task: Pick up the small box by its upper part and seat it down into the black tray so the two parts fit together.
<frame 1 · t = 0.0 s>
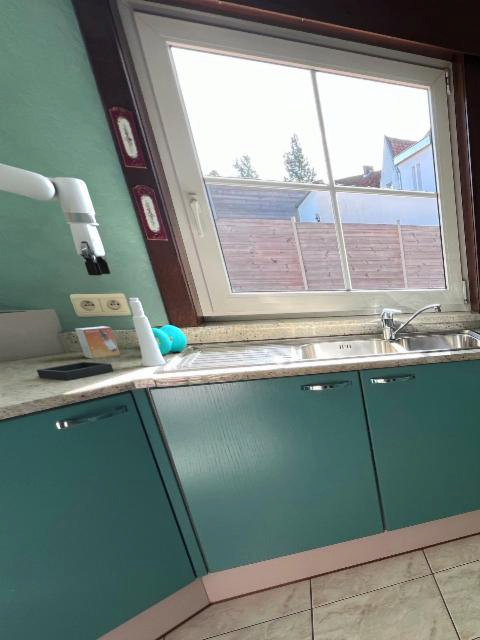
hand: (100, 274, 168), 28 cm above the worktop, tool pointing down, fingers open, 9 cm apart
black tray: (77, 374, 153), on the worktop
small box: (103, 357, 177), on the worktop
cosmetic bottle: (154, 365, 169), on the worktop
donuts: (168, 353, 186), on the worktop
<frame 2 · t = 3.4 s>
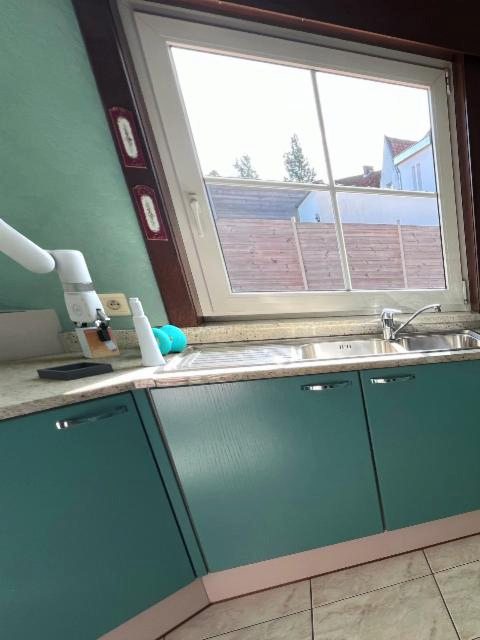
hand: (97, 340, 175), 6 cm above the worktop, tool pointing down, fingers closed on small box, 6 cm apart
small box: (103, 357, 177), on the worktop, touching gripper
everything else where it was.
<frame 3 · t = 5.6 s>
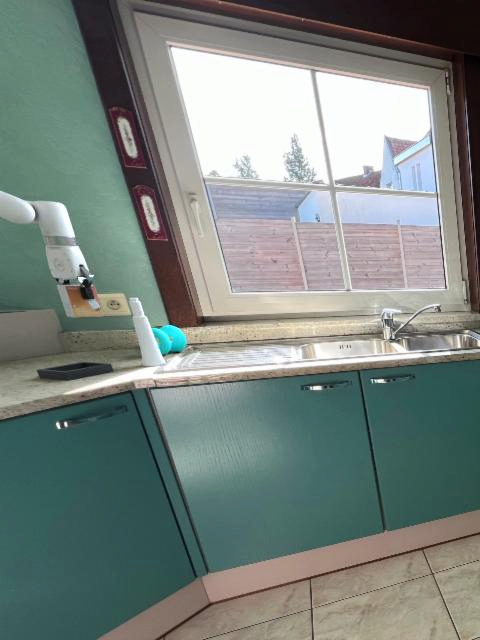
hand: (80, 298, 169), 21 cm above the worktop, tool pointing down, fingers closed on small box, 6 cm apart
small box: (86, 317, 171), point 14 cm above the worktop, touching gripper
everything else where it was.
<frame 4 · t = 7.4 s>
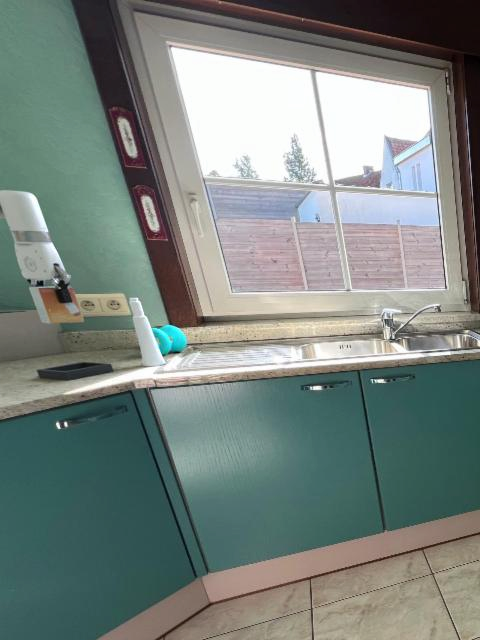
hand: (55, 301, 149), 22 cm above the worktop, tool pointing down, fingers closed on small box, 6 cm apart
small box: (64, 323, 151), point 15 cm above the worktop, touching gripper
everything else where it was.
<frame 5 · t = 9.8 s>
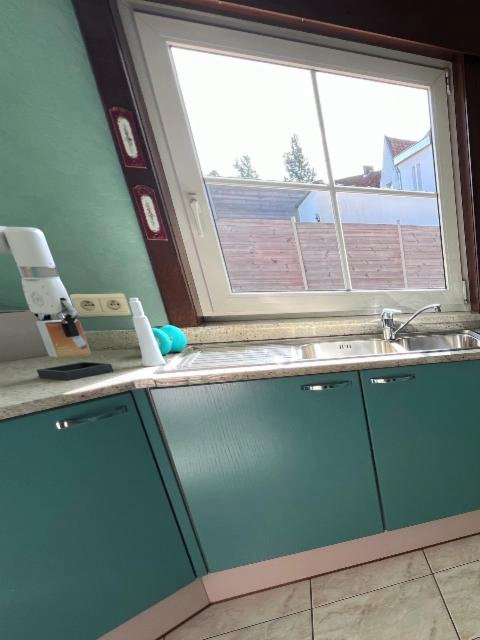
hand: (63, 335, 149), 12 cm above the worktop, tool pointing down, fingers closed on small box, 6 cm apart
small box: (71, 356, 151), point 6 cm above the worktop, touching gripper
everything else where it was.
when the fingers open (7 cm above the worktop, at t = 11.6 s): small box stays where it is, resting on black tray.
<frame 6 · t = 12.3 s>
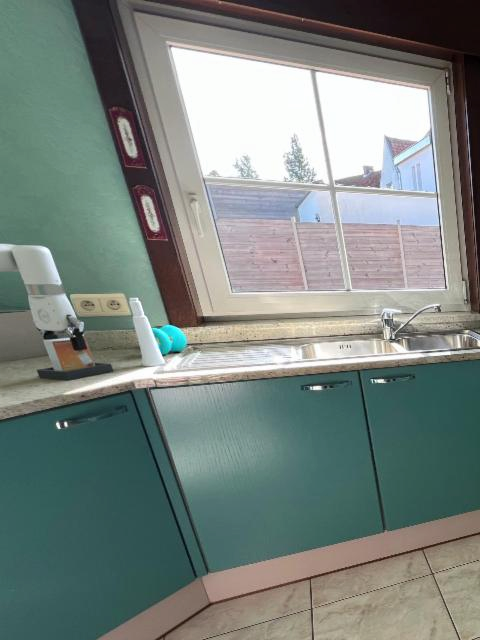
hand: (67, 349, 150), 8 cm above the worktop, tool pointing down, fingers open, 9 cm apart
small box: (77, 373, 153), resting on black tray
everything else where it was.
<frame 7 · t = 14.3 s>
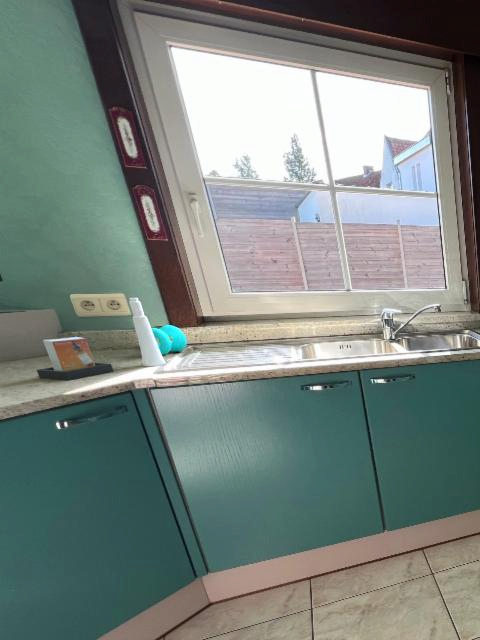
nothing on the worktop moved.
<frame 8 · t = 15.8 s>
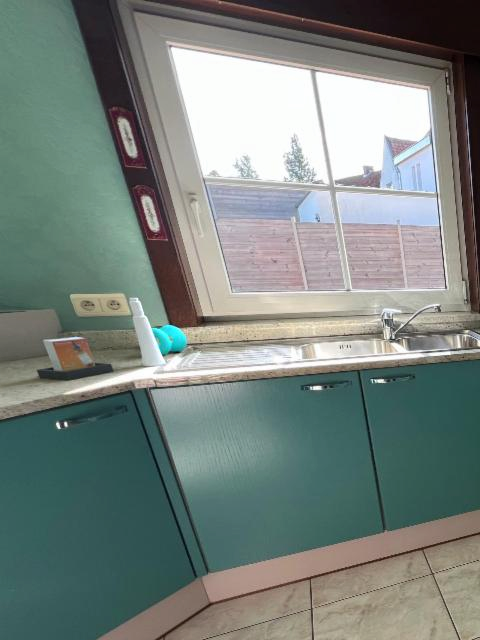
nothing on the worktop moved.
at the end: small box 0.1 cm off-centre in the black tray, point 0.4 cm above the black tray's base; small box tilted 0°; the gripper is holding nothing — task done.
